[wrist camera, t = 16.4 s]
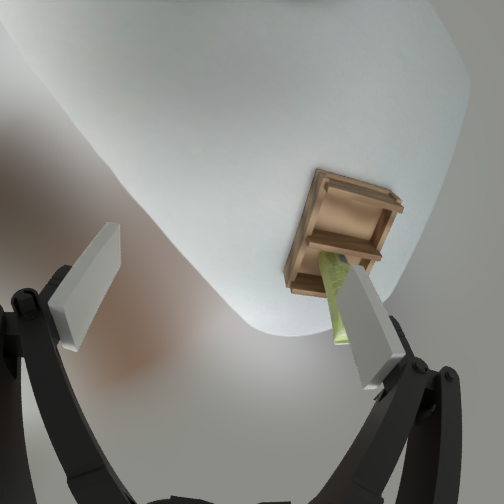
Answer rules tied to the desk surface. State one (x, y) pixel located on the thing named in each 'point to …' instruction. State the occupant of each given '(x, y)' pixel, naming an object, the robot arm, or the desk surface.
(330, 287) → the tube
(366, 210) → the rack
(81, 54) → the desk surface
